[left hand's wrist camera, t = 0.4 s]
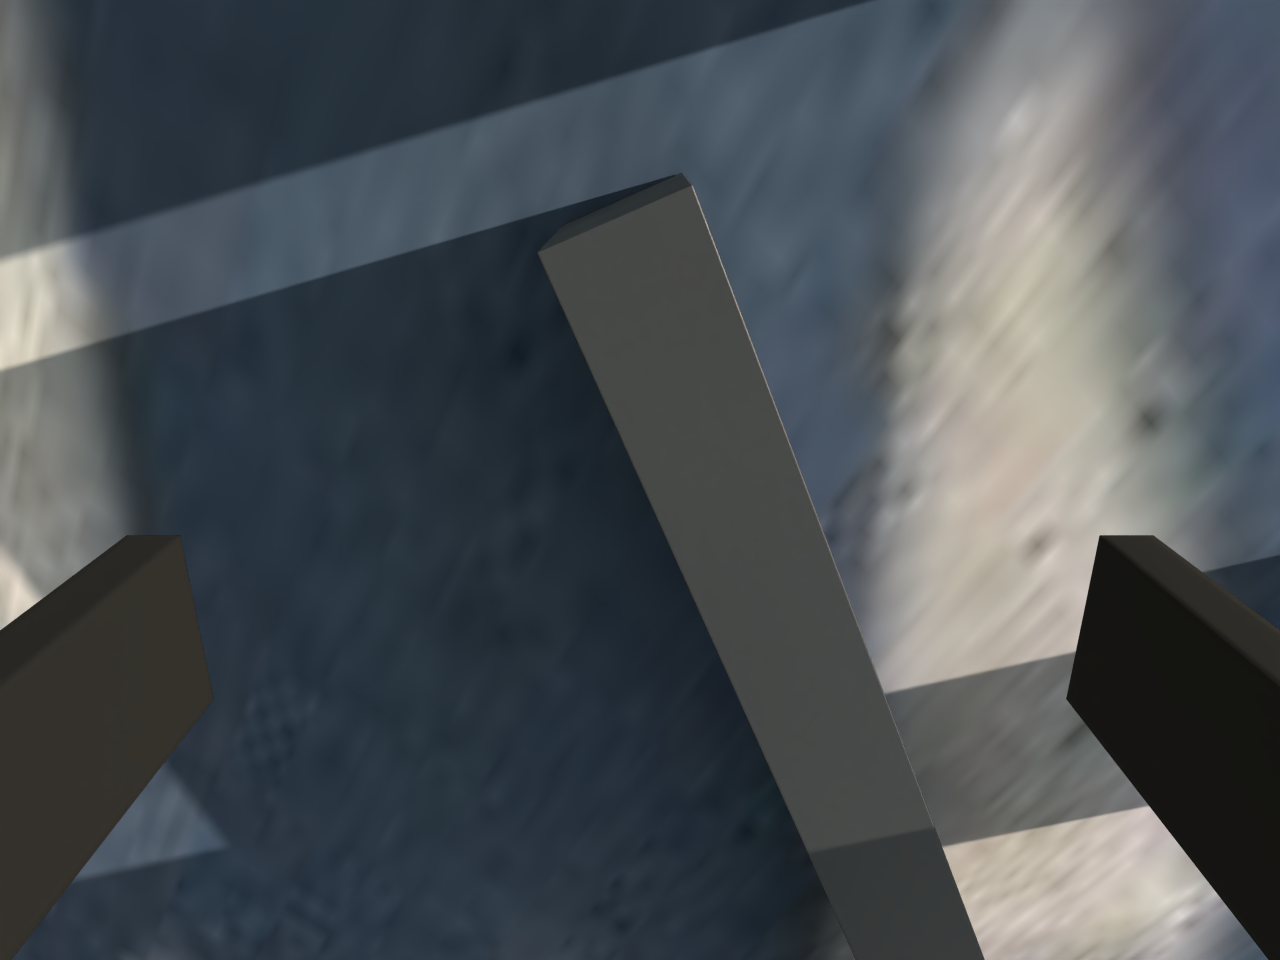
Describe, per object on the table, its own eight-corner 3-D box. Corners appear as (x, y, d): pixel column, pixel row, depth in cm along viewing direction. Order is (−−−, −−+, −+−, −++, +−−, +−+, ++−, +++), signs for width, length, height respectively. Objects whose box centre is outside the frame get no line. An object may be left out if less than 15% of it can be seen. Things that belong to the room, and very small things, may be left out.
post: (560, 225, 32) (536, 252, 25) (682, 172, 32) (692, 184, 25) (954, 1127, 51) (1003, 1287, 44) (1036, 1106, 50) (1100, 1266, 43)
